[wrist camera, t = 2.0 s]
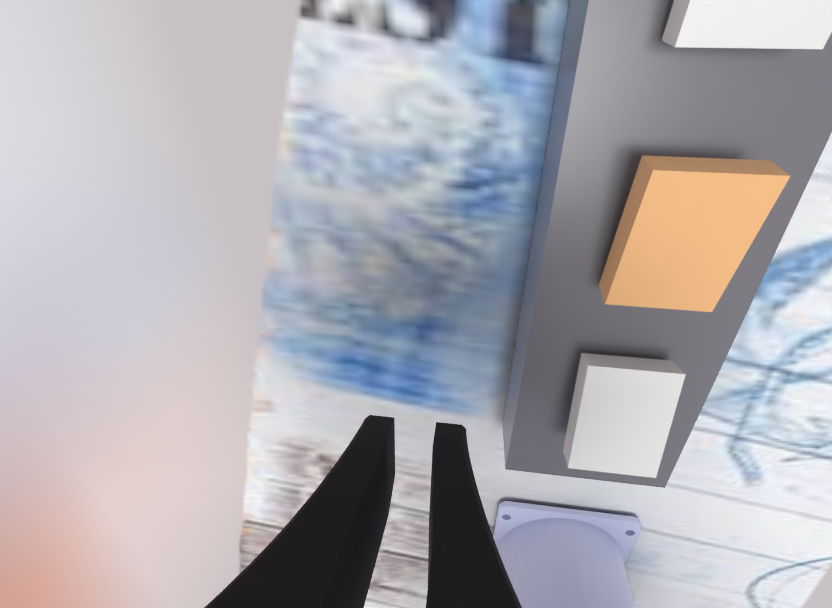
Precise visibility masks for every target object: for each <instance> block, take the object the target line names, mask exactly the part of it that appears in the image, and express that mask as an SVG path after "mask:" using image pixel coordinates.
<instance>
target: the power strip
mask: <svg viewBox="0 0 832 608" xmlns="http://www.w3.org/2000/svg"><path fill="white" fill-rule="evenodd" d="M673 2H674V0H570V2H569V8H568V14H567V20H566V27H565V33H564V39H563V46H562V52H561V58H560V64H559V71H558V77H557V83H556V90H555V96H554V102H553V108H552V115H551V121H550V127H549V133H548V140H547V146H546V152H545V159H544V165H543V171H542V177H541V184H540V190H539V196H538V203H537V209H536V215H535V221H534V228H533V234H532V240H531V246H530V253H529V259H528V265H527V272H526V278H525V284H524V290H523V297H522V303H521V309H520V316H519V322H518V328H517V334H516V341H515V347H514V353H513V360H512V366H511V372H510V378H509V385H508V391H507V397H506V403H505V410H504V416H503V436H504V452H505V468H506V469H508V470H517V471H526V472H534V473H543V474H552V475H560V476H569V477H578V478H586V479H595V480H603V481H612V482H621V483H629V484H638V485H647V486H655V487H664V488H665V486H666V484H667V482H668V480H669V477H670V475H671V473H672V471H673V469H674V467H675V465H676V462H677V460H678V458H679V456H680V454H681V452H682V450H683V448H684V445H685V443H686V441H687V439H688V437H689V435H690V433H691V431H692V428H693V426H694V424H695V422H696V420H697V418H698V416H699V413H700V411H701V409H702V407H703V405H704V403H705V401H706V399H707V396H708V394H709V392H710V390H711V388H712V386H713V384H714V382H715V379H716V377H717V375H718V373H719V371H720V369H721V367H722V364H723V362H724V360H725V358H726V356H727V354H728V352H729V350H730V347H731V345H732V343H733V341H734V339H735V337H736V335H737V332H738V330H739V328H740V326H741V324H742V322H743V320H744V318H745V315H746V313H747V311H748V309H749V307H750V305H751V303H752V301H753V298H754V296H755V294H756V292H757V290H758V288H759V286H760V283H761V281H762V279H763V277H764V275H765V273H766V271H767V269H768V266H769V264H770V262H771V260H772V258H773V256H774V254H775V252H776V249H777V247H778V245H779V243H780V241H781V239H782V237H783V234H784V232H785V230H786V228H787V226H788V224H789V222H790V220H791V217H792V215H793V213H794V211H795V209H796V207H797V205H798V203H799V200H800V198H801V196H802V194H803V192H804V190H805V188H806V185H807V183H808V181H809V179H810V177H811V175H812V173H813V171H814V168H815V166H816V164H817V162H818V160H819V158H820V156H821V154H822V151H823V149H824V147H825V145H826V143H827V141H828V139H829V136H830V134H831V132H832V32H831V34H830V36H829V38H828V40H827V42H826V44H825V46H824V48H823V49H763V48H687V47H673V46H671V45H669V44H668V43H666V42H664V41H662V38H663V34H664V31H665V28H666V25H667V21H668V18H669V15H670V12H671V9H672V5H673ZM642 155H644V156H670V157H696V158H722V159H748V160H770V161H772V162H773V163H774V164H776V165H777V166H778V167H780V168H781V169H782V170H783V171H785V172H786V173H787V174H789V175H790V178H789V180H788V181H787V183H786V185H785V187H784V188H783V190H782V192H781V194H780V195H779V197H778V199H777V200H776V202H775V204H774V206H773V207H772V209H771V211H770V213H769V214H768V216H767V218H766V219H765V221H764V223H763V225H762V226H761V228H760V230H759V232H758V233H757V235H756V237H755V239H754V240H753V242H752V244H751V245H750V247H749V249H748V251H747V252H746V254H745V256H744V258H743V259H742V261H741V263H740V264H739V266H738V268H737V270H736V271H735V273H734V275H733V277H732V278H731V280H730V282H729V283H728V285H727V287H726V289H725V290H724V292H723V294H722V296H721V297H720V299H719V301H718V302H717V304H716V306H715V308H714V309H713V311H712V312H703V311H689V310H676V309H662V308H649V307H635V306H622V305H608V304H605V303H604V300H603V297H602V294H601V291H600V288H599V283H600V280H601V277H602V274H603V271H604V268H605V265H606V262H607V259H608V256H609V253H610V250H611V247H612V244H613V241H614V238H615V235H616V232H617V229H618V226H619V223H620V220H621V217H622V214H623V211H624V208H625V205H626V202H627V199H628V196H629V193H630V190H631V187H632V184H633V181H634V178H635V175H636V172H637V169H638V166H639V163H640V160H641V157H642ZM581 353H588V354H600V355H612V356H623V357H635V358H646V359H658V360H670V361H673V362H674V363H675V364H676V365H677V366H678V367H679V368H680V369H681V370H682V371H683V372H684V373H685V374H686V375H685V379H684V382H683V386H682V389H681V393H680V396H679V399H678V403H677V406H676V410H675V413H674V417H673V420H672V424H671V427H670V431H669V434H668V438H667V441H666V445H665V448H664V452H663V455H662V459H661V462H660V466H659V469H658V473H657V476H656V478H651V477H642V476H633V475H624V474H615V473H607V472H598V471H589V470H580V469H572V468H568V467H567V463H566V460H565V457H564V453H563V447H564V442H565V437H566V431H567V426H568V421H569V415H570V410H571V405H572V399H573V394H574V389H575V383H576V378H577V373H578V368H579V362H580V357H581Z"/></svg>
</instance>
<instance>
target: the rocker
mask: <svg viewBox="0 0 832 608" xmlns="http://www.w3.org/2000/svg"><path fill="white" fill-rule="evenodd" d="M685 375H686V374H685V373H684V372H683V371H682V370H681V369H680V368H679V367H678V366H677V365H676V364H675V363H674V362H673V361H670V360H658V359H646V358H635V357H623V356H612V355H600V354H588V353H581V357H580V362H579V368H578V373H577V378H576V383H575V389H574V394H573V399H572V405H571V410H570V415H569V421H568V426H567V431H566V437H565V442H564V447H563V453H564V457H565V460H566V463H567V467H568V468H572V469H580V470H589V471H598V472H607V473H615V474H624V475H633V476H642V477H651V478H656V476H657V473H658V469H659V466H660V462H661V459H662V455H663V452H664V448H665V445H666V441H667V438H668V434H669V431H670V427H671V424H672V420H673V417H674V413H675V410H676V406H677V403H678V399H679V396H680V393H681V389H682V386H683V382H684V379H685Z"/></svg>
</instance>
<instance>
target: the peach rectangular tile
mask: <svg viewBox="0 0 832 608" xmlns="http://www.w3.org/2000/svg"><path fill="white" fill-rule="evenodd" d="M789 178H790V175H789V174H787V173H786V172H785V171H783V170H782V169H781V168H780V167H778V166H777V165H776V164H774V163H773V162H772V161H770V160H748V159H722V158H696V157H670V156H644V155H642V157H641V160H640V163H639V166H638V169H637V172H636V175H635V178H634V181H633V184H632V187H631V190H630V193H629V196H628V199H627V202H626V205H625V208H624V211H623V214H622V217H621V220H620V223H619V226H618V229H617V232H616V235H615V238H614V241H613V244H612V247H611V250H610V253H609V256H608V259H607V262H606V265H605V268H604V271H603V274H602V277H601V280H600V283H599V288H600V291H601V294H602V297H603V300H604V303H605V304H608V305H622V306H635V307H649V308H662V309H676V310H689V311H703V312H712V311H713V309H714V308H715V306H716V304H717V302H718V301H719V299H720V297H721V296H722V294H723V292H724V290H725V289H726V287H727V285H728V283H729V282H730V280H731V278H732V277H733V275H734V273H735V271H736V270H737V268H738V266H739V264H740V263H741V261H742V259H743V258H744V256H745V254H746V252H747V251H748V249H749V247H750V245H751V244H752V242H753V240H754V239H755V237H756V235H757V233H758V232H759V230H760V228H761V226H762V225H763V223H764V221H765V219H766V218H767V216H768V214H769V213H770V211H771V209H772V207H773V206H774V204H775V202H776V200H777V199H778V197H779V195H780V194H781V192H782V190H783V188H784V187H785V185H786V183H787V181H788V180H789Z"/></svg>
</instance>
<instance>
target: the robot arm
mask: <svg viewBox="0 0 832 608" xmlns="http://www.w3.org/2000/svg"><path fill="white" fill-rule="evenodd" d="M394 477H395V437H394V418H392V417H382V416H373V415H370V416H368V417H367V418H365V420H364V422H363V424H362V425H361V427H360V429H359V430H358V432H357V433H356V435H355V436H354V438H353V440H352V441H351V443H350V444H349V446H348V447H347V449H346V450H345V451H344V453H343V454H342V456H341V457H340V459H339V460H338V461H337V463H336V464H335V465H334V467H333V468H332V469H331V471H330V472H329V473H328V475H327V476H326V477H325V479H324V480H323V481H322V483H321V484H320V485H319V487H318V488H317V489H316V491H315V492H314V493H313V494H312V495H311V497H310V498H309V499H308V500H307V501H306V503H305V504H304V505H303V506H302V507H301V509H300V510H299V511H298V512H297V513H296V515H295V516H294V517H293V518H292V519H291V521H290V522H289V523H288V524H287V525H286V526H285V527H284V528H283V530H282V531H281V532H280V533H279V534H278V535H277V536H276V537H275V538H274V540H273V541H272V542H271V543H270V544H269V545H268V546H267V547H266V548H265V549H264V550H263V551H262V552H261V553H260V554H259V555H258V556H257V557H256V558H255V560H254V561H253V562H252V563H251V564H250V565H249V566H248V567H247V568H246V569H244V570H243V571H242V572H241V573H240V574H239V575H238V576H237V577H236V578H235V579H234V580H233V581H232V582H231V583H230V584H229V585H228V586H227V587H226V588H225V589H224V590H223V591H222V592H221V593H220V594H219V595H218V596H216V598H214V599H213V600H212V601H211V602H210V603H209V604H208V605H207V606H206V607H205V608H363V607H364V604H365V600H366V596H367V593H368V589H369V585H370V581H371V578H372V574H373V570H374V567H375V563H376V559H377V556H378V552H379V548H380V544H381V541H382V537H383V533H384V529H385V526H386V522H387V518H388V514H389V508H390V502H391V496H392V490H393V483H394ZM641 527H642V526H641V523H640V520H639V519H638V518H636V517H633V516H625V515H617V514H609V513H601V512H592V511H584V510H576V509H568V508H560V507H552V506H544V505H536V504H528V503H520V502H511V501H503V502H501V503H500V504H499V506H498V512H497V517H496V523H495V529H494V534H493V535H492V533H491V530H490V527H489V524H488V521H487V518H486V515H485V512H484V509H483V506H482V502H481V499H480V496H479V493H478V489H477V486H476V482H475V478H474V475H473V470H472V466H471V462H470V457H469V452H468V446H467V438H466V429H465V428H464V427H463V426H462V425H458V424H448V423H439V422H436V429H435V436H434V443H433V455H432V475H431V496H430V516H429V563H428V594H427V603H426V608H637V607H636V604H635V600H634V597H633V593H632V590H631V586H630V583H629V579H628V576H627V572H626V569H625V563H626V560H627V558H628V556H629V554H630V552H631V550H632V547H633V545H634V543H635V541H636V539H637V537H638V534H639V532H640V530H641Z"/></svg>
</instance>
